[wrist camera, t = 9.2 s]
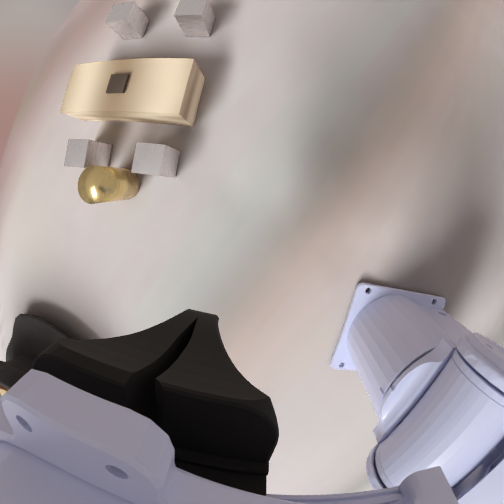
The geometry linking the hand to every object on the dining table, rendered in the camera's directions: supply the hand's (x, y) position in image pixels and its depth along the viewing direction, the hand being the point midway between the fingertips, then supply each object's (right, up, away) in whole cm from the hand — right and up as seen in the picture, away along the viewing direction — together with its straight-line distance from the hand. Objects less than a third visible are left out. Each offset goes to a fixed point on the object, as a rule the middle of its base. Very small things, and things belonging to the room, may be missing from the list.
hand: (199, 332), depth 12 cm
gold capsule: (-8, +9, +9) cm, 14 cm away
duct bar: (-7, +16, +7) cm, 18 cm away
